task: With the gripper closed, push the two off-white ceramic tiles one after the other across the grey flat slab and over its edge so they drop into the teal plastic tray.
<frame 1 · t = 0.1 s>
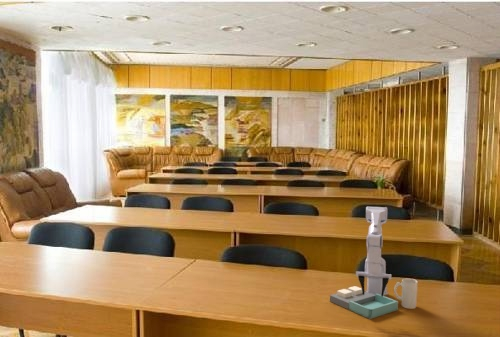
hand: (372, 295, 201), 11 cm above the table, tool pointing down, fingers open, 7 cm apart
tile b: (344, 295, 221), point 3 cm above the table, touching grey flat slab
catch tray: (373, 309, 212), on the table
mug: (405, 306, 217), on the table
tile a: (355, 292, 225), point 3 cm above the table, touching grey flat slab
grey flat slab: (352, 301, 222), on the table
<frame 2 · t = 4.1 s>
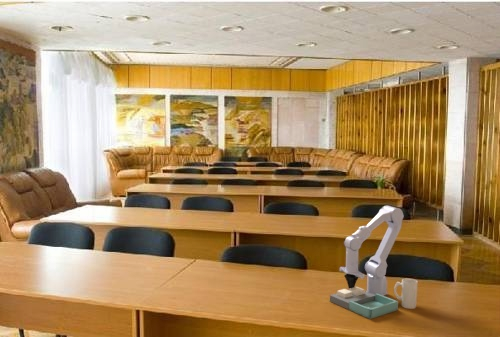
hand: (351, 289, 227), 4 cm above the table, tool pointing down, fingers closed
tile a: (356, 293, 224), point 3 cm above the table, touching gripper
everything else where it was.
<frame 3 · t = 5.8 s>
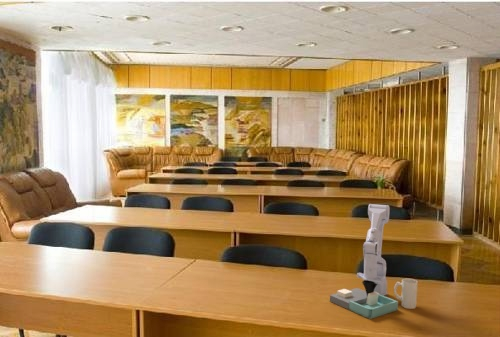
hand: (369, 296, 218), 4 cm above the table, tool pointing down, fingers closed
tile a: (370, 297, 217), point 4 cm above the table, tilted 100°, touching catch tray
everything else where it was.
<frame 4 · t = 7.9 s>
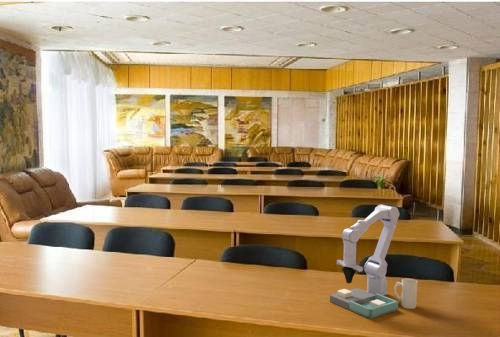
hand: (348, 282, 223), 8 cm above the table, tool pointing down, fingers closed
tile a: (377, 302, 214), point 3 cm above the table, tilted 180°, touching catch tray
everything else where it was.
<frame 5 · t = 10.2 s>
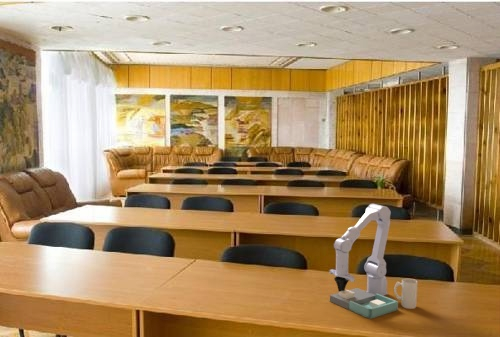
hand: (341, 292, 223), 4 cm above the table, tool pointing down, fingers closed
tile b: (346, 296, 220), point 3 cm above the table, touching grey flat slab
everything else where it was.
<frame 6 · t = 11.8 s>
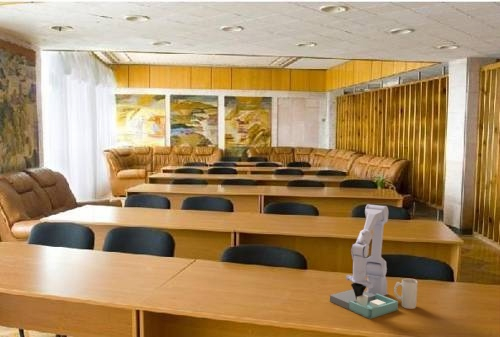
hand: (358, 299, 214), 4 cm above the table, tool pointing down, fingers closed
tile b: (360, 300, 213), point 3 cm above the table, tilted 95°, touching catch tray
everything else where it was.
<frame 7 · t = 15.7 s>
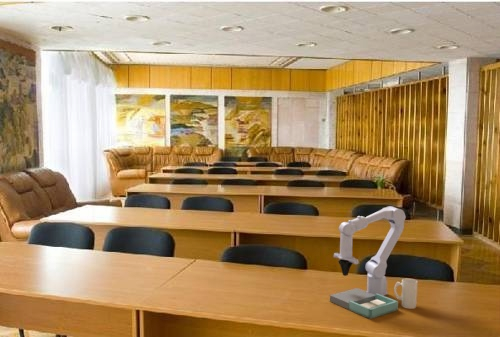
hand: (345, 275, 228), 10 cm above the table, tool pointing down, fingers closed
tile b: (367, 305, 210), point 3 cm above the table, tilted 180°, touching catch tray
everything else where it was.
at the end: tile a inside the target area on the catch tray (3.3 cm from its centre), point 2.8 cm above the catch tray's base; tile b inside the target area on the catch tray (3.6 cm from its centre), point 2.8 cm above the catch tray's base; mug moved 0.2 cm from its start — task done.
